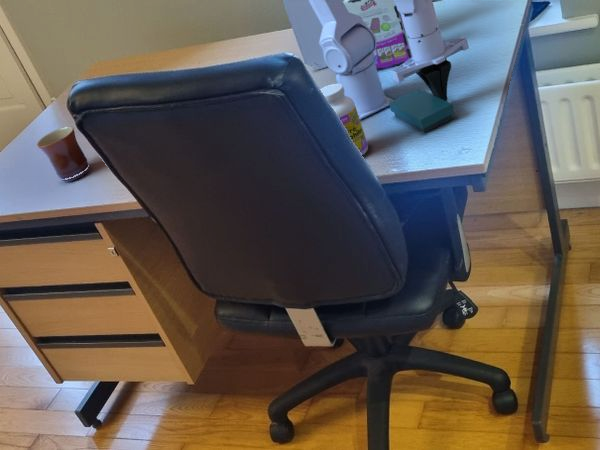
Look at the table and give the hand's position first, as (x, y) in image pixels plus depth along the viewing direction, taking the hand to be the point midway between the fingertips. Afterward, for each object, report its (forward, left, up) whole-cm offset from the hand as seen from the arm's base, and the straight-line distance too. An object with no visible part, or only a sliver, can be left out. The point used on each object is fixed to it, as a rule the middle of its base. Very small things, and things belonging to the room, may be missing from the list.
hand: (441, 100), depth 141 cm
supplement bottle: (0, -19, -2) cm, 19 cm away
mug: (-55, -67, -2) cm, 87 cm away
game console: (-44, +5, -2) cm, 44 cm away
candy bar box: (-31, +5, -2) cm, 31 cm away
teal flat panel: (0, -4, -1) cm, 5 cm away
